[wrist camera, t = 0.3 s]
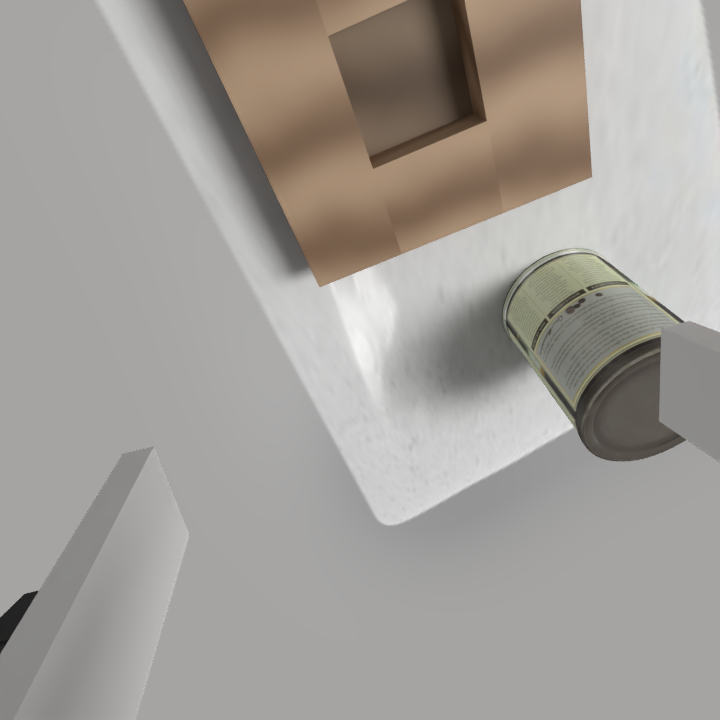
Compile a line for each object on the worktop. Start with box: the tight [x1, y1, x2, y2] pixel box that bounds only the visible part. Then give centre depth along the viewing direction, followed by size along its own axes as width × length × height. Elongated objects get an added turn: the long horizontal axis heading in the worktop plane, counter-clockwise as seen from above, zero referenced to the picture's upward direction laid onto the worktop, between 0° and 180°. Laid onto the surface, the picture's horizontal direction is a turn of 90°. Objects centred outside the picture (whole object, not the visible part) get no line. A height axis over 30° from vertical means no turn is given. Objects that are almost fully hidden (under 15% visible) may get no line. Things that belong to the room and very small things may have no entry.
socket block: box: [183, 0, 592, 287], centre depth 30 cm, size 20×20×4 cm
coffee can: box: [503, 249, 686, 461], centre depth 39 cm, size 10×10×14 cm
